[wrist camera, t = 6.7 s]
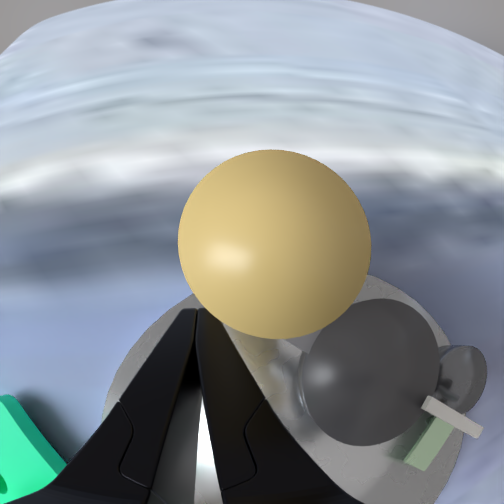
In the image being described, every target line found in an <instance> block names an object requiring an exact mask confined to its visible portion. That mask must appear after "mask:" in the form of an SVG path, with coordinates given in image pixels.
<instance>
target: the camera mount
mask: <svg viewBox="0 0 504 504" xmlns="http://www.w3.org/2000/svg"><path fill="white" fill-rule="evenodd" d="M66 465H67V464H66V463H65V461H64V460H63V459H62V458H61V457H60V456H59V455H58V453H57V452H56V451H55V450H54V449H53V447H52V446H51V445H50V444H49V442H48V441H47V440H46V439H45V437H44V436H43V435H42V434H41V432H40V431H39V430H38V428H37V427H36V426H35V424H34V423H33V422H32V420H31V419H30V418H29V416H28V415H27V413H26V412H25V411H24V409H23V408H22V406H21V405H20V403H19V402H18V401H17V400H16V399H15V398H14V397H13V396H11V395H2V396H0V504H4V503H7V502H10V501H12V500H15V499H18V498H21V497H23V496H26V495H28V494H31V493H33V492H36V491H38V490H40V489H42V488H43V487H45V486H46V485H48V484H49V483H50V482H51V481H52V480H54V479H55V478H56V477H57V476H58V474H59V473H60V472H61V471H62V470H63V469H64V468H65V466H66Z"/></svg>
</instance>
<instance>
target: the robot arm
mask: <svg viewBox="0 0 504 504" xmlns="http://www.w3.org/2000/svg"><path fill="white" fill-rule="evenodd" d="M202 398H203V404H204V410H205V416H206V422H207V427H208V433H209V438H210V444H211V449H212V454H213V459H214V464H215V469H216V474H217V479H218V484H219V488H220V492H221V498H222V502H223V504H365V503H363V502H361V501H359V500H357V499H356V498H354V497H352V496H351V495H349V494H348V493H347V492H345V491H344V490H343V489H342V488H340V487H339V486H338V485H337V484H336V483H335V482H334V481H333V480H332V479H331V478H330V477H329V476H328V475H327V474H326V473H325V472H324V471H323V470H322V469H321V468H320V467H319V465H318V464H317V463H316V462H315V461H314V460H313V459H312V458H311V457H310V456H309V455H308V453H307V452H306V451H305V450H304V449H303V448H302V447H301V446H300V445H299V443H298V442H297V441H296V440H295V439H294V437H293V436H292V435H291V434H290V432H289V431H288V430H287V429H286V427H285V426H284V425H283V423H282V422H281V420H280V419H279V417H278V416H277V414H276V413H275V411H274V410H273V408H272V407H271V405H270V403H269V402H268V400H267V399H266V397H265V396H264V394H263V392H262V391H261V389H260V387H259V386H258V384H257V382H256V381H255V379H254V377H253V376H252V374H251V372H250V371H249V369H248V367H247V365H246V364H245V362H244V360H243V359H242V357H241V355H240V353H239V352H238V350H237V348H236V347H235V345H234V343H233V341H232V340H231V338H230V336H229V334H228V332H227V331H226V329H225V327H224V325H223V324H222V322H221V321H220V320H219V319H217V318H216V317H215V316H213V315H212V314H211V313H210V312H209V311H208V310H207V309H206V308H205V307H202V308H199V309H198V310H197V308H183V309H182V310H181V311H180V312H179V313H178V315H177V316H176V318H175V319H174V321H173V322H172V323H171V325H170V326H169V328H168V329H167V330H166V332H165V333H164V335H163V336H162V337H161V339H160V340H159V342H158V343H157V345H156V346H155V347H154V349H153V350H152V352H151V353H150V355H149V356H148V357H147V359H146V360H145V362H144V363H143V365H142V366H141V368H140V369H139V370H138V372H137V373H136V375H135V376H134V378H133V379H132V381H131V382H130V384H129V385H128V386H127V388H126V389H125V391H124V392H123V394H122V395H121V397H120V398H119V402H116V404H115V405H114V407H113V408H112V410H111V411H110V413H109V414H108V415H107V417H106V418H105V419H104V421H103V422H102V424H101V425H100V426H99V428H98V429H97V430H96V431H95V433H94V434H93V435H92V436H91V437H90V439H89V440H88V441H87V442H86V444H85V445H84V446H83V447H82V448H81V449H80V450H79V452H78V453H77V454H76V455H75V456H74V457H73V458H72V460H71V461H70V462H69V463H68V464H67V465H66V466H65V468H64V469H63V470H62V471H61V472H60V473H59V474H58V476H57V477H56V478H55V479H54V480H52V481H51V482H50V483H49V484H48V485H46V486H45V487H43V488H42V489H40V490H38V491H36V492H33V493H31V494H28V495H26V496H23V497H21V498H18V499H15V500H12V501H10V502H7V503H4V504H194V496H195V480H196V466H197V452H198V440H199V427H200V416H201V404H202Z"/></svg>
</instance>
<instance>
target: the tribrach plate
mask: <svg viewBox="0 0 504 504" xmlns="http://www.w3.org/2000/svg"><path fill="white" fill-rule="evenodd" d="M380 298H385V299H393V300H397V301H400V302H403V303H405V304H407V305H409V306H411V307H412V308H414V309H415V310H416V311H417V312H419V313H420V314H421V315H422V316H423V317H424V319H425V320H426V321H427V322H428V324H429V326H430V327H431V329H432V331H433V333H434V335H435V338H436V341H437V345H438V350H439V359H440V366H439V376H438V381H437V385H436V388H435V391H434V394H433V396H432V397H433V398H435V399H437V400H438V401H440V402H442V403H443V404H445V405H447V406H448V407H450V408H452V409H453V410H455V411H457V412H458V413H460V414H462V415H463V416H465V415H466V412H467V411H469V410H470V409H471V408H472V407H473V406H474V405H475V404H476V403H477V401H478V400H479V398H480V396H481V394H482V392H483V390H484V387H485V383H486V378H487V366H486V361H485V358H484V356H483V354H482V353H481V352H480V351H479V350H478V349H477V348H475V347H473V346H456V345H451V344H450V342H449V341H448V339H447V337H446V335H445V333H444V332H443V330H442V329H441V328H440V326H439V325H438V324H437V323H436V321H435V320H434V319H433V317H432V316H431V315H430V314H429V313H428V312H427V311H426V310H425V309H424V308H423V307H422V306H421V305H420V304H419V303H418V302H416V301H415V300H414V299H413V298H411V297H410V296H408V295H407V294H405V293H404V292H403V291H401V290H400V289H398V288H397V287H395V286H393V285H391V284H389V283H387V282H385V281H383V280H381V279H379V278H377V277H374V276H371V275H368V274H367V276H366V280H365V282H364V284H363V286H362V289H361V291H360V293H359V294H358V296H357V297H356V299H355V300H354V302H353V303H355V302H360V301H365V300H371V299H380ZM202 307H204V306H203V305H202V304H201V303H200V301H199V300H198V299H197V297H196V296H195V294H194V293H193V294H192V295H190V296H189V297H187V298H186V299H184V300H183V301H181V302H180V303H178V304H177V305H175V306H174V307H172V308H171V309H169V310H168V311H167V312H166V313H165V314H164V315H162V316H161V317H160V318H159V319H158V320H157V321H156V322H155V323H153V324H152V325H151V326H150V327H149V328H148V329H147V330H146V331H145V333H144V334H143V335H142V336H141V337H140V338H139V340H138V341H137V342H136V343H135V344H134V346H133V347H132V348H131V349H130V351H129V352H128V354H127V356H126V357H125V359H124V360H123V362H122V364H121V365H120V367H119V369H118V370H117V372H116V375H115V377H114V379H113V382H112V384H111V386H110V389H109V391H108V394H107V398H106V402H105V406H104V410H103V414H102V422H103V421H104V419H105V418H106V417H107V415H108V414H109V413H110V411H111V410H112V408H113V407H114V405H115V404H116V402H119V398H120V397H121V395H122V394H123V392H124V391H125V389H126V388H127V386H128V385H129V384H130V382H131V381H132V379H133V378H134V376H135V375H136V373H137V372H138V370H139V369H140V368H141V366H142V365H143V363H144V362H145V360H146V359H147V357H148V356H149V355H150V353H151V352H152V350H153V349H154V347H155V346H156V345H157V343H158V342H159V340H160V339H161V337H162V336H163V335H164V333H165V332H166V330H167V329H168V328H169V326H170V325H171V323H172V322H173V321H174V319H175V318H176V316H177V315H178V313H179V312H180V311H181V310H182V309H183V308H197V310H198V309H199V308H202ZM222 324H223V325H224V327H225V329H226V331H227V332H228V334H229V336H230V338H231V340H232V341H233V343H234V345H235V347H236V348H237V350H238V352H239V353H240V355H241V357H242V359H243V360H244V362H245V364H246V365H247V367H248V369H249V371H250V372H251V374H252V376H253V377H254V379H255V381H256V382H257V384H258V386H259V387H260V389H261V391H262V392H263V394H264V396H265V397H266V399H267V400H268V402H269V403H270V405H271V407H272V408H273V410H274V411H275V413H276V414H277V416H278V417H279V419H280V420H281V422H282V423H283V425H284V426H285V427H286V429H287V430H288V431H289V432H290V434H291V435H292V436H293V437H294V439H295V440H296V441H297V442H298V443H299V445H300V446H301V447H302V448H303V449H304V450H305V451H306V452H307V453H308V455H309V456H310V457H311V458H312V459H313V460H314V461H315V462H316V463H317V464H318V465H319V467H320V468H321V469H322V470H323V471H324V472H325V473H326V474H327V475H328V476H329V477H330V478H331V479H332V480H333V481H334V482H335V483H336V484H337V485H338V486H339V487H340V488H342V489H343V490H344V491H345V492H347V493H348V494H349V495H351V496H352V497H354V498H356V499H357V500H359V501H361V502H363V503H365V504H434V502H435V501H436V499H437V498H438V496H439V495H440V493H441V491H442V490H443V488H444V486H445V485H446V483H447V481H448V479H449V477H450V475H451V472H452V470H453V468H454V466H455V463H456V460H457V457H458V454H459V451H460V447H461V444H462V439H463V433H464V432H463V431H461V430H459V429H457V428H455V427H453V426H452V425H450V424H448V423H446V422H444V421H443V420H441V419H439V418H437V417H435V416H434V415H432V414H430V413H428V412H426V411H424V412H423V414H422V415H421V416H420V417H419V419H418V420H417V421H416V422H415V423H414V424H413V425H412V426H411V427H410V428H408V429H407V430H406V431H405V432H403V433H402V434H400V435H399V436H397V437H395V438H393V439H391V440H389V441H387V442H384V443H381V444H377V445H372V446H352V445H348V444H344V443H341V442H339V441H336V440H335V439H333V438H331V437H330V436H328V435H327V434H326V433H325V432H324V431H322V430H321V428H320V427H319V426H318V425H317V424H316V423H315V422H314V421H313V419H312V418H311V417H310V416H309V414H308V412H307V411H306V409H305V407H304V405H303V402H302V399H301V396H300V392H299V384H298V374H299V366H300V361H301V358H302V354H303V351H301V350H300V349H298V348H297V347H295V346H294V345H292V344H290V343H289V342H287V341H286V340H284V339H268V338H260V337H256V336H252V335H248V334H245V333H243V332H240V331H238V330H235V329H233V328H231V327H230V326H228V325H226V324H224V323H223V322H222ZM194 504H223V502H222V498H221V492H220V488H219V484H218V479H217V474H216V469H215V464H214V459H213V454H212V449H211V444H210V438H209V433H208V427H207V422H206V416H205V410H204V404H203V398H202V404H201V416H200V427H199V440H198V452H197V466H196V480H195V496H194Z"/></svg>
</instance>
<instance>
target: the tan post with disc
mask: <svg viewBox="0 0 504 504" xmlns="http://www.w3.org/2000/svg"><path fill="white" fill-rule="evenodd" d="M178 249H179V257H180V262H181V266H182V270H183V272H184V275H185V278H186V280H187V282H188V284H189V286H190V288H191V290H192V291H193V293H194V294H195V296H196V297H197V299H198V300H199V301H200V303H201V304H202V305H203V306H204V307H205V308H206V309H207V310H208V311H209V312H210V313H211V314H212V315H213V316H215V317H216V318H217V319H219V320H220V321H221V322H223V323H224V324H226V325H228V326H230V327H231V328H233V329H235V330H238V331H240V332H243V333H245V334H248V335H252V336H256V337H260V338H268V339H284V340H286V341H287V342H289V343H290V344H292V345H294V346H295V347H297V348H298V349H300V350H301V351H303V354H302V358H301V361H300V366H299V374H298V384H299V392H300V396H301V399H302V402H303V405H304V407H305V409H306V411H307V412H308V414H309V416H310V417H311V418H312V419H313V421H314V422H315V423H316V424H317V425H318V426H319V427H320V428H321V430H322V431H324V432H325V433H326V434H327V435H328V436H330V437H331V438H333V439H335V440H336V441H339V442H341V443H344V444H348V445H352V446H372V445H377V444H381V443H384V442H387V441H389V440H391V439H393V438H395V437H397V436H399V435H400V434H402V433H403V432H405V431H406V430H407V429H408V428H410V427H411V426H412V425H413V424H414V423H415V422H416V421H417V420H418V419H419V417H420V416H421V415H422V414H423V412H424V411H426V412H428V413H430V414H432V415H434V416H435V417H437V418H439V419H441V420H443V421H444V422H446V423H448V424H450V425H452V426H453V427H455V428H457V429H459V430H461V431H463V432H464V433H466V434H468V435H470V436H472V437H474V438H476V439H478V438H479V436H480V434H481V432H482V430H483V429H484V427H482V426H480V425H478V424H477V423H475V422H473V421H472V420H470V419H468V418H467V417H465V416H463V415H462V414H460V413H458V412H457V411H455V410H453V409H452V408H450V407H448V406H447V405H445V404H443V403H442V402H440V401H438V400H437V399H435V398H433V397H432V396H433V394H434V391H435V388H436V385H437V381H438V376H439V366H440V359H439V350H438V345H437V341H436V338H435V335H434V333H433V331H432V329H431V327H430V326H429V324H428V322H427V321H426V320H425V319H424V317H423V316H422V315H421V314H420V313H419V312H417V311H416V310H415V309H414V308H412V307H411V306H409V305H407V304H405V303H403V302H400V301H397V300H393V299H385V298H380V299H371V300H365V301H360V302H355V303H353V302H354V300H355V299H356V297H357V296H358V294H359V293H360V291H361V289H362V286H363V284H364V282H365V280H366V276H367V273H368V270H369V265H370V259H371V236H370V230H369V225H368V221H367V218H366V216H365V213H364V210H363V208H362V206H361V204H360V202H359V200H358V198H357V197H356V195H355V194H354V192H353V191H352V190H351V188H350V187H349V186H348V185H347V184H346V182H345V181H344V180H343V179H342V178H341V177H340V176H338V175H337V174H336V173H335V172H334V171H332V170H331V169H330V168H328V167H327V166H325V165H324V164H322V163H320V162H318V161H317V160H315V159H312V158H310V157H308V156H305V155H302V154H298V153H295V152H290V151H284V150H258V151H253V152H248V153H244V154H241V155H238V156H235V157H233V158H231V159H229V160H227V161H225V162H223V163H222V164H220V165H219V166H217V167H215V168H214V169H213V170H212V171H211V172H209V173H208V174H207V175H206V176H205V177H204V178H203V179H202V180H201V181H200V182H199V184H198V185H197V186H196V188H195V189H194V190H193V192H192V193H191V195H190V197H189V199H188V201H187V203H186V205H185V207H184V210H183V213H182V216H181V220H180V225H179V233H178Z"/></svg>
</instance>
